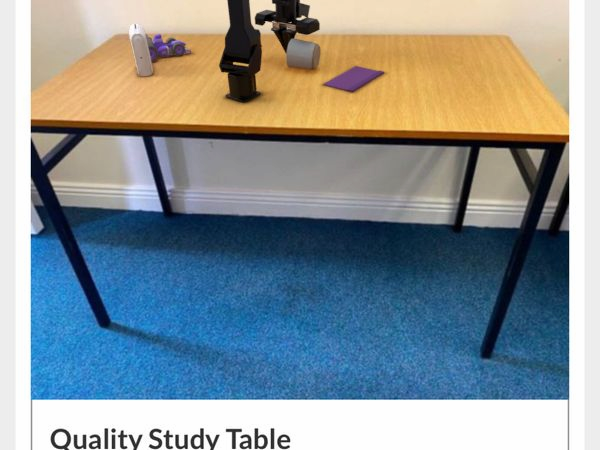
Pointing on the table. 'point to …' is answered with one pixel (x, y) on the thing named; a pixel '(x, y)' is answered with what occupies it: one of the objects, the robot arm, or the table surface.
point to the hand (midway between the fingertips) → (287, 53)
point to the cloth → (353, 79)
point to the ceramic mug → (303, 54)
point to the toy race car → (165, 47)
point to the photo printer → (140, 50)
